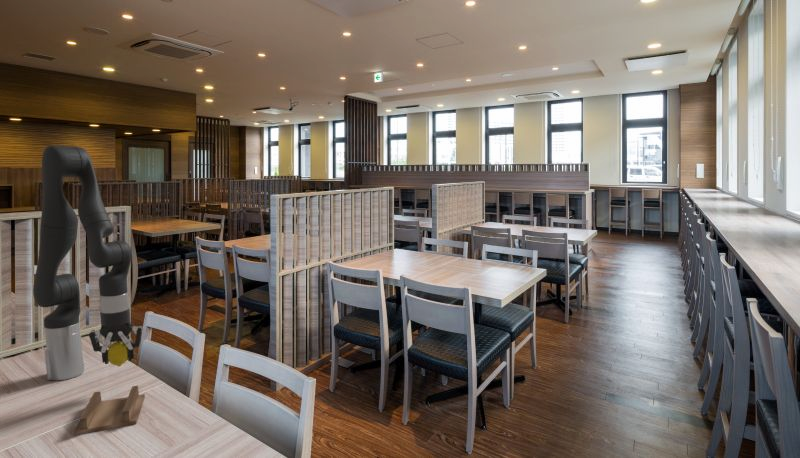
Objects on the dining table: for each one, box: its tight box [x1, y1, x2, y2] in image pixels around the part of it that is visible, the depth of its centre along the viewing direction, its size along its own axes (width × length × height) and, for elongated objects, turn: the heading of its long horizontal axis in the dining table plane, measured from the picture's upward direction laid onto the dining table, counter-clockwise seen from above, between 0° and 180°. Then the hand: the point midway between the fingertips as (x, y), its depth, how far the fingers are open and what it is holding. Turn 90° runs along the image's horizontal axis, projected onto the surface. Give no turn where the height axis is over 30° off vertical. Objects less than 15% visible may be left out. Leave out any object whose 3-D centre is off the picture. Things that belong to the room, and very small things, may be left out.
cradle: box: [73, 385, 146, 436], centre depth 126 cm, size 14×15×4 cm
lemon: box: [107, 341, 128, 367], centre depth 138 cm, size 6×6×8 cm
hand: (118, 361), depth 139 cm, fingers closed on lemon, 5 cm apart
